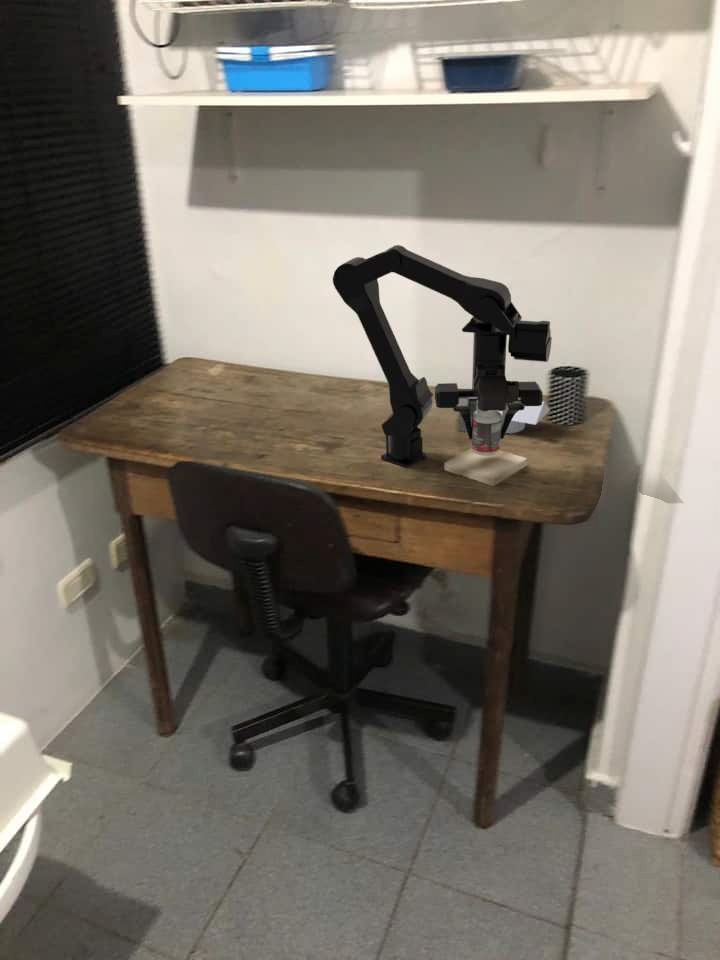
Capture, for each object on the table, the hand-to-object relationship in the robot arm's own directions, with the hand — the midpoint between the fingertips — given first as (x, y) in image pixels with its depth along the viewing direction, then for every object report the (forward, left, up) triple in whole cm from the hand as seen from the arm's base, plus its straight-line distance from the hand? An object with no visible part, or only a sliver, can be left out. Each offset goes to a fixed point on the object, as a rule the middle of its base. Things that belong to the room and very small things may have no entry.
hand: (486, 438), depth 148 cm
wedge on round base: (-7, +20, -6) cm, 22 cm away
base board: (0, 0, -6) cm, 6 cm away
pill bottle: (0, 0, -3) cm, 3 cm away
